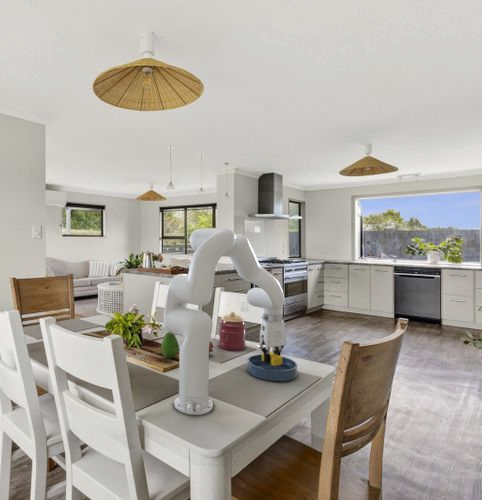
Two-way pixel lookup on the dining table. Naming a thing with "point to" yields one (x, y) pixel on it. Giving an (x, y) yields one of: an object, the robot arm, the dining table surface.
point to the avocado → (170, 345)
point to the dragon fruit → (210, 347)
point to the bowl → (272, 369)
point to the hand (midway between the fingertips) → (271, 361)
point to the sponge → (274, 359)
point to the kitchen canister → (232, 332)
